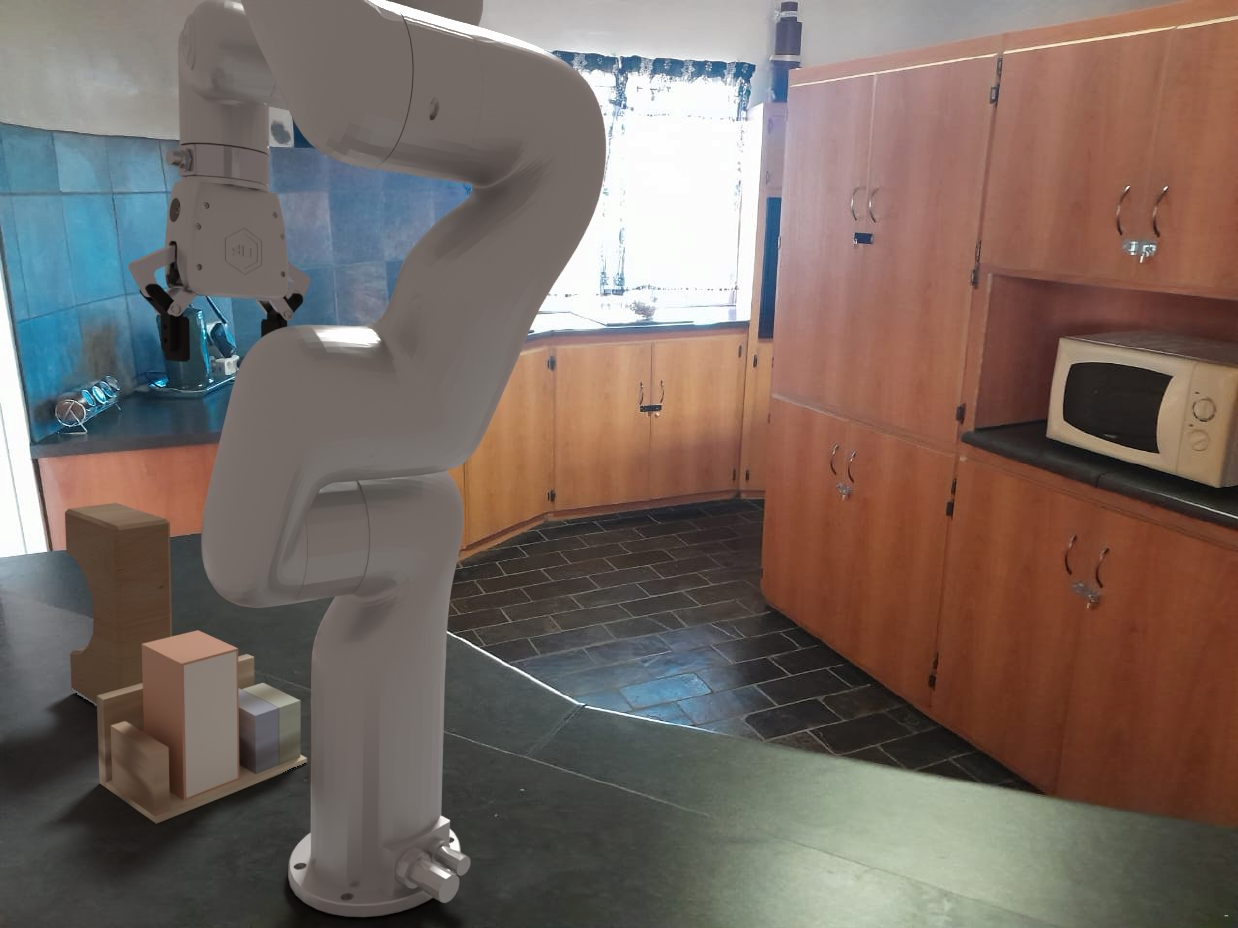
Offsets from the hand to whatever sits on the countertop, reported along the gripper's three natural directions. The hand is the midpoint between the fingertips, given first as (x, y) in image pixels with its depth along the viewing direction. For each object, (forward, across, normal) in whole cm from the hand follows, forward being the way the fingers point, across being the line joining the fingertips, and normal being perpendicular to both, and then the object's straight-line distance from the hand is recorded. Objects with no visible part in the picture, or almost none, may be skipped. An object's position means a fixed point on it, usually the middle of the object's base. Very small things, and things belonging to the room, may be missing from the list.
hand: (227, 360), depth 87 cm
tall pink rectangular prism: (+36, -8, -8) cm, 38 cm away
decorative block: (+36, -4, +13) cm, 39 cm away
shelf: (+36, -6, -8) cm, 38 cm away
